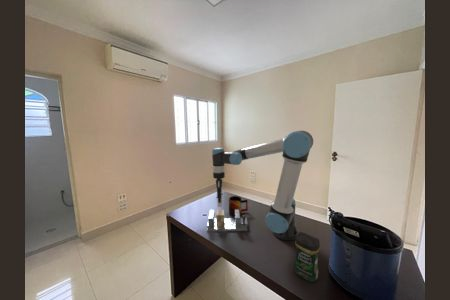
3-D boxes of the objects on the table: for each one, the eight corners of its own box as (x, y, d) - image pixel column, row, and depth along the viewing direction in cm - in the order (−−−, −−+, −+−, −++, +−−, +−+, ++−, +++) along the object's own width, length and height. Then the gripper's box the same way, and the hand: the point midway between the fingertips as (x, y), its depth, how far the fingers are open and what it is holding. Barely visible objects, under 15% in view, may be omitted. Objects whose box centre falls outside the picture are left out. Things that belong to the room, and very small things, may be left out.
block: (224, 220, 121) (224, 209, 120) (224, 226, 114) (223, 215, 113) (217, 220, 121) (216, 210, 120) (216, 226, 114) (216, 215, 113)
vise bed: (245, 219, 124) (245, 208, 122) (247, 230, 111) (247, 218, 110) (209, 220, 124) (208, 209, 123) (207, 231, 111) (206, 219, 110)
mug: (248, 212, 135) (248, 197, 133) (234, 218, 127) (234, 202, 125) (240, 207, 142) (239, 193, 141) (226, 212, 134) (226, 198, 133)
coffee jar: (291, 273, 79) (292, 235, 76) (298, 262, 84) (299, 227, 82) (314, 286, 72) (316, 246, 69) (320, 274, 78) (322, 236, 75)
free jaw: (246, 218, 122) (246, 207, 121) (248, 228, 111) (247, 216, 110) (234, 218, 123) (234, 208, 122) (235, 228, 111) (235, 216, 110)
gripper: (213, 168, 120) (215, 200, 123) (211, 175, 105) (213, 211, 108) (224, 168, 120) (225, 200, 123) (224, 174, 105) (225, 211, 108)
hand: (219, 205), depth 116 cm, fingers open, 2 cm apart
